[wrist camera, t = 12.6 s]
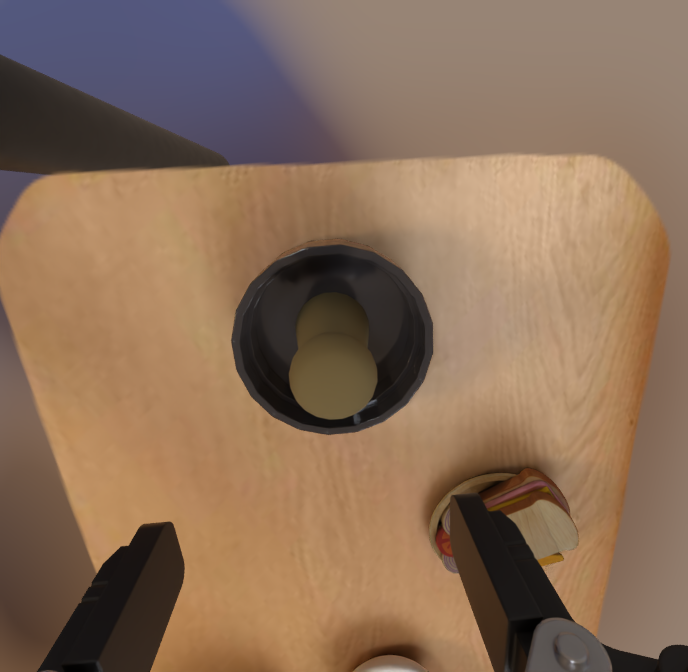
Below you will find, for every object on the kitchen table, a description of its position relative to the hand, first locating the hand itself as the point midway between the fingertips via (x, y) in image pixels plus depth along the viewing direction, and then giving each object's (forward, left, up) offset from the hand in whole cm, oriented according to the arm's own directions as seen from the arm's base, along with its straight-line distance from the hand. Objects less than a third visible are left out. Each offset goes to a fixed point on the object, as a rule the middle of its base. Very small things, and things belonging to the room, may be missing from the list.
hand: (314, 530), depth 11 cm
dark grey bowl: (+1, -1, -22) cm, 22 cm away
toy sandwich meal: (+15, -22, -22) cm, 34 cm away
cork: (+1, -1, -22) cm, 22 cm away
